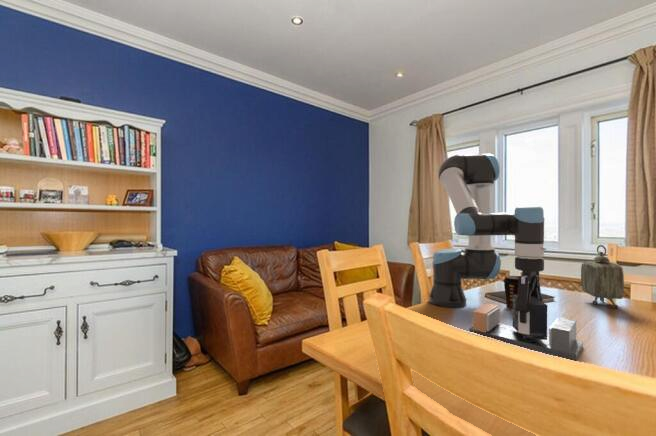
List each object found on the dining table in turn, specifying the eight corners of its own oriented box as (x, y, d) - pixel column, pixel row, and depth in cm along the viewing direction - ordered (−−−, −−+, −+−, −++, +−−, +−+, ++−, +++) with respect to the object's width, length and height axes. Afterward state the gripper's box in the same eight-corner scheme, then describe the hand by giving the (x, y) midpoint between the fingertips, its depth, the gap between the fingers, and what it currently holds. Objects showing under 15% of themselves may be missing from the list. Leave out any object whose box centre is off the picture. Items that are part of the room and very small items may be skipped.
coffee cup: (526, 307, 131) (526, 275, 130) (529, 313, 123) (529, 279, 123) (502, 304, 134) (502, 274, 134) (504, 310, 127) (504, 278, 126)
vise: (468, 333, 104) (468, 310, 104) (482, 323, 112) (482, 302, 112) (576, 360, 84) (576, 332, 84) (582, 346, 92) (582, 321, 92)
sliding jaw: (472, 329, 103) (472, 311, 103) (486, 320, 111) (485, 303, 111) (487, 333, 99) (487, 314, 99) (500, 323, 108) (500, 305, 108)
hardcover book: (555, 301, 139) (555, 296, 139) (513, 307, 133) (513, 301, 133) (523, 293, 155) (523, 288, 155) (484, 297, 148) (484, 292, 148)
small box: (549, 340, 91) (549, 304, 91) (524, 339, 92) (523, 303, 92) (534, 327, 101) (533, 294, 101) (511, 326, 103) (511, 294, 102)
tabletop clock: (623, 310, 124) (623, 247, 124) (596, 308, 127) (595, 246, 127) (604, 300, 138) (604, 243, 138) (580, 299, 141) (579, 243, 141)
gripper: (533, 263, 85) (533, 342, 86) (552, 253, 102) (552, 320, 102) (503, 260, 90) (503, 335, 91) (525, 252, 107) (525, 315, 108)
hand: (529, 327), depth 97 cm, fingers closed on small box, 12 cm apart
